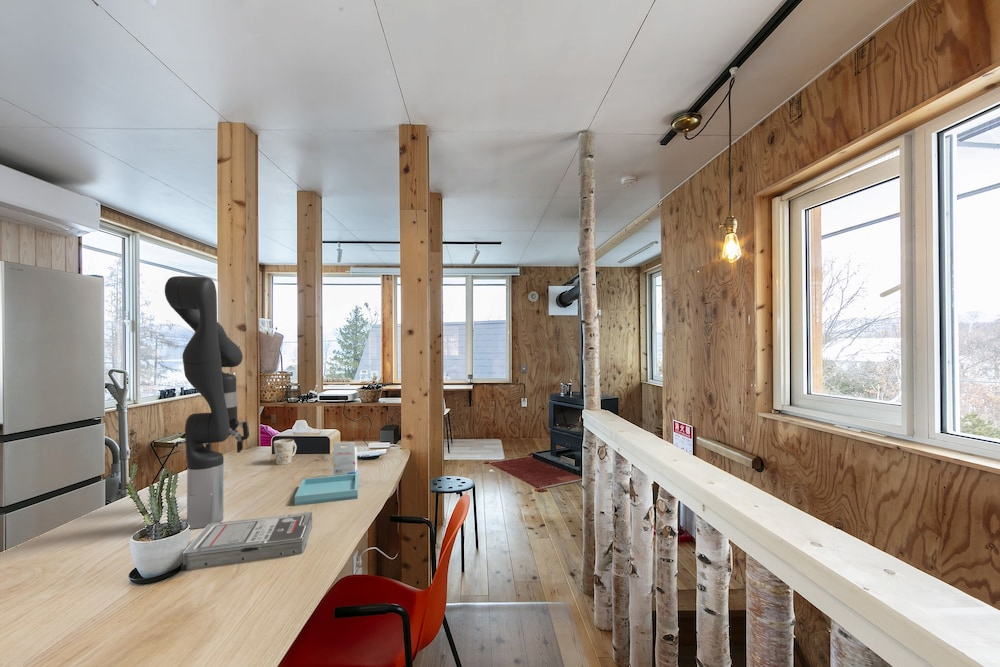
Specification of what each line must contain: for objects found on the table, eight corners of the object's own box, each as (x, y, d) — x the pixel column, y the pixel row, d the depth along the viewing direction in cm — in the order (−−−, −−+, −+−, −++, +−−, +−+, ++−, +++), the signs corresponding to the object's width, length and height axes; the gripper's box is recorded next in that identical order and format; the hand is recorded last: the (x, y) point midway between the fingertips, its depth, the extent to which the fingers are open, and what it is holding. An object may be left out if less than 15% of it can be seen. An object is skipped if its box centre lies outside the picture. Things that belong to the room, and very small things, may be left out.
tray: (357, 498, 151) (357, 489, 151) (294, 505, 145) (294, 496, 145) (358, 481, 170) (358, 473, 170) (302, 486, 164) (302, 478, 164)
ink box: (357, 475, 178) (357, 439, 178) (355, 479, 173) (355, 442, 173) (335, 476, 176) (335, 440, 177) (333, 480, 171) (333, 443, 172)
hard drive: (208, 539, 122) (208, 523, 122) (312, 526, 129) (312, 511, 129) (181, 572, 104) (181, 554, 104) (303, 555, 112) (303, 538, 112)
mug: (269, 465, 194) (269, 442, 195) (287, 457, 207) (287, 436, 207) (286, 465, 193) (286, 443, 193) (303, 458, 205) (303, 437, 206)
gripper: (195, 408, 140) (196, 458, 141) (245, 406, 145) (246, 454, 145) (203, 404, 147) (203, 452, 148) (250, 402, 152) (250, 448, 152)
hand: (224, 453), depth 146 cm, fingers open, 8 cm apart
